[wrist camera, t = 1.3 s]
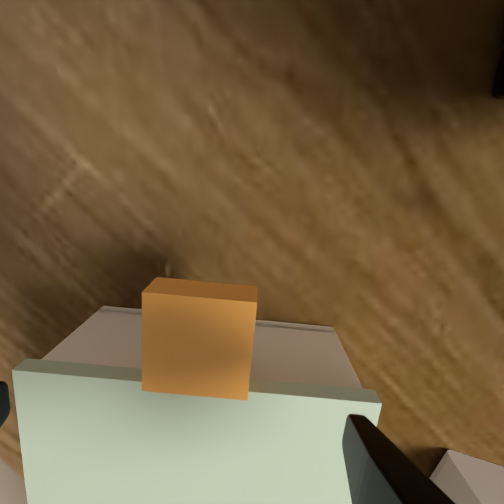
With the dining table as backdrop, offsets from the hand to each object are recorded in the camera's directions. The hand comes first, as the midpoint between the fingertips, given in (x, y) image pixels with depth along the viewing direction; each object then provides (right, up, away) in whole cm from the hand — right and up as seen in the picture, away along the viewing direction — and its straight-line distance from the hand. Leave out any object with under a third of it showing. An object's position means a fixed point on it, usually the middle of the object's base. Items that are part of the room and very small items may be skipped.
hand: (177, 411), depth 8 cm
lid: (0, -4, +7) cm, 8 cm away
